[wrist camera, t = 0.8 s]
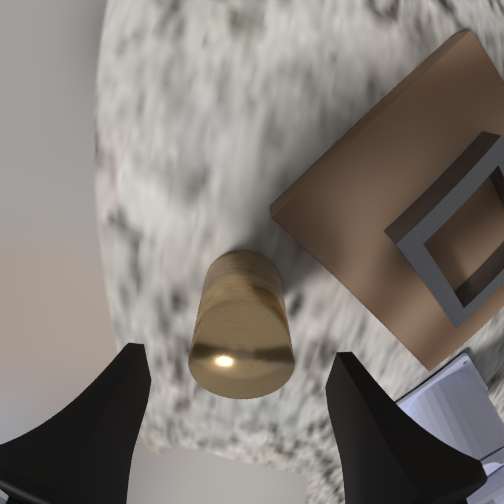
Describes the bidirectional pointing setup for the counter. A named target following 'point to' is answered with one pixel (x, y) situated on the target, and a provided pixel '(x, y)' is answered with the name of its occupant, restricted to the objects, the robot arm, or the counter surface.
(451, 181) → the frame
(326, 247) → the jig plate
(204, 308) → the brass cylinder
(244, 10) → the counter surface
